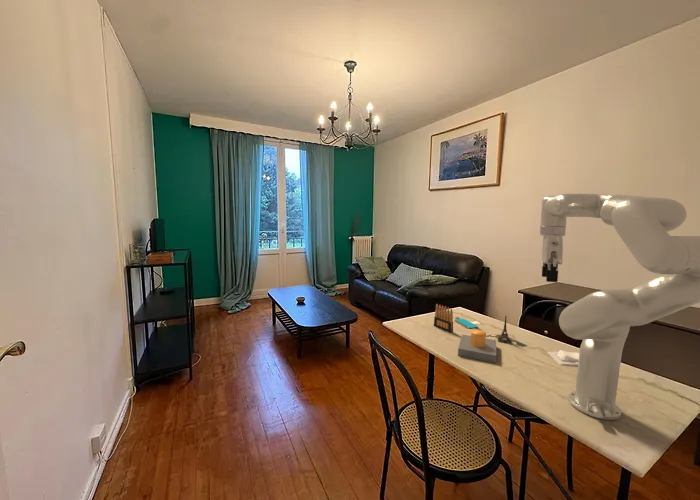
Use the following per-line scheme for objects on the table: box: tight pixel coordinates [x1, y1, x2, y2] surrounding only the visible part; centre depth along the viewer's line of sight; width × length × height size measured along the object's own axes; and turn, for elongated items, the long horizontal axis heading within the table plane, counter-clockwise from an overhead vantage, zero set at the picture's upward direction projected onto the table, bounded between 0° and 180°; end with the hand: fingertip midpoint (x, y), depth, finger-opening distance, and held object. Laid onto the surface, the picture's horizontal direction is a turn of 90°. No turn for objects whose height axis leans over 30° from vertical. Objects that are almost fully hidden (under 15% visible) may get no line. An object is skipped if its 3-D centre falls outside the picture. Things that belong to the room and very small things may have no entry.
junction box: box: [457, 334, 497, 364], centre depth 130 cm, size 16×14×7 cm
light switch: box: [547, 349, 580, 367], centre depth 123 cm, size 11×4×13 cm
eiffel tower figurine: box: [486, 315, 528, 348], centre depth 140 cm, size 15×10×13 cm
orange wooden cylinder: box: [470, 329, 487, 347], centre depth 130 cm, size 6×6×5 cm
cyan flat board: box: [453, 316, 484, 331], centre depth 162 cm, size 20×12×2 cm, turn 17°
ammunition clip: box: [433, 303, 454, 334], centre depth 154 cm, size 11×2×12 cm, turn 33°
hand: (549, 279), depth 110 cm, fingers open, 9 cm apart
